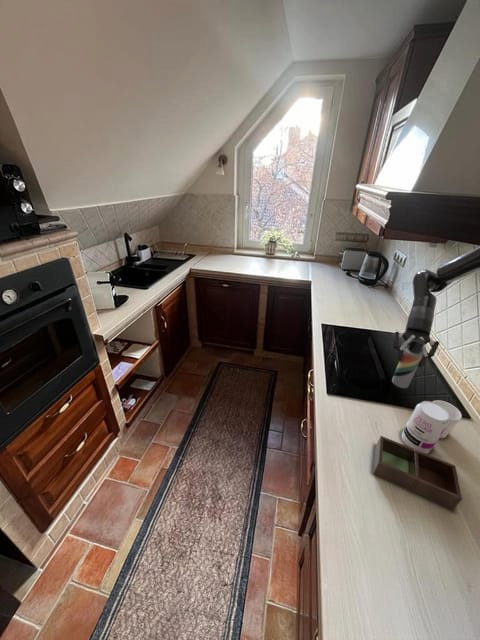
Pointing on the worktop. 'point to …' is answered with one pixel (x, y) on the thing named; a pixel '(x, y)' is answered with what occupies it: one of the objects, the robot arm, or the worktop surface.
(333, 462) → the worktop surface
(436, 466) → the caddy
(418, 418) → the supplement can
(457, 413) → the white cup
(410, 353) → the lotion bottle
